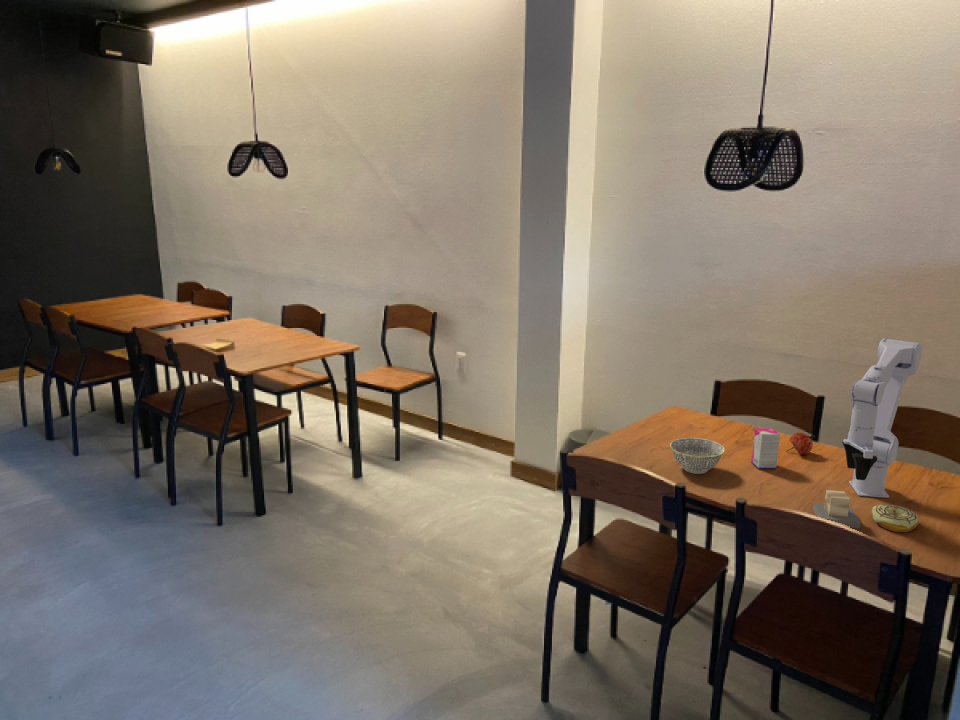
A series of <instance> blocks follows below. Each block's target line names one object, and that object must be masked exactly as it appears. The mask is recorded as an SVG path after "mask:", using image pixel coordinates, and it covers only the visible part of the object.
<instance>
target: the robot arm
mask: <svg viewBox="0 0 960 720" xmlns="http://www.w3.org/2000/svg"><path fill="white" fill-rule="evenodd" d="M922 353H923V347H922V344H921V342H912V341H907V340H906V341H904V340H899V339H898V340H897V339H891V338H886V337H884V338H882V339H881V340H880V342H879V344H878V347H877V359H878V361H877V363H876V364H874V365H871V366H869V368H868V370H867V371H866V373H865V374H864V375H863V376H862V378H861V379H859V380H858V381H857V380H855V381H854V382H853V384H852V387H851V391H850V400H851V401H850V402H851V403H850V407H851V408H852V410H851V418H850V425H849V426H850V427H849V431H848V432H847V433H848V434H847V438H845V439H843V440H842V442H841V443H842V446H843V448H844V453H845V457H846V466H847V468H848V469H854V470H853V476H852V480H849V481H848V482H849V484H850V486H851V487H852V488H853V490H854V491H855V493H856V494H857V496H859V497H871V498H885V499H889V498H890V495H889V494H888V493H887V491H886V483H887V482H886V481H887V475H888V468H889V466H892V465H893V464H894V463H895V461H896V460H897V459H896V458H897V457H898V449H899V448H898V447H899V444H900V443H899V439H898V438H897V436H896V435H895V434H894V433H893V432H892V431H891V430H892V427H893V424H894V420H895V417H896V414H897V411H898V408H899V403H900V401H901V397H902V394H903V391H904V387H905V385H906V382H907V380H908V378H909V376H912V375H916V372H917V371H918V369H919V365H920V362H921V359H922Z"/></svg>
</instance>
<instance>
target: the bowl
mask: <svg viewBox="0 0 960 720" xmlns="http://www.w3.org/2000/svg"><path fill="white" fill-rule="evenodd" d="M669 447H670V449H671V451H672V455H673V457H674V459H675V461H676V462H677V464H679V466H680V467H682V468H683V469H684V471H685V472H687V473H690V474H695V475H700V474H706V473H707V472H709V470H711V469H713V468H715V467H716V466H717V465H718V463H719V462H720V460H721V458H722V456H723V455H724V453H725V450H726V449H725V447H724V445H722V444H720V443H719V442H716V441H714V440H710V439H706V438H699V437H698V438H697V437H684V438H682V437H681V438H677V439H675V440H672V441H671V442H670V444H669Z"/></svg>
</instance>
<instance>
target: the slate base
mask: <svg viewBox="0 0 960 720" xmlns="http://www.w3.org/2000/svg"><path fill="white" fill-rule="evenodd" d="M824 504H825V503H815V502H814V503H813V507H812V511H813V513H814V514H815V516H816V517H817V516H819V517H821V518H825V519H827V520H831V521H835V522H838V523H842V524H845V525H847V526H850V527H852V528H851V529H854V528H855V529H857V530H860V529H861V522H862V521H861V520H860V519H859V517H858V516H857V514H856V512H855V511H854V509H853V508H852V507H851V505H849V510H848V517H844V516H830V515H828V513H827V512H826V510H825V508H824Z"/></svg>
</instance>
